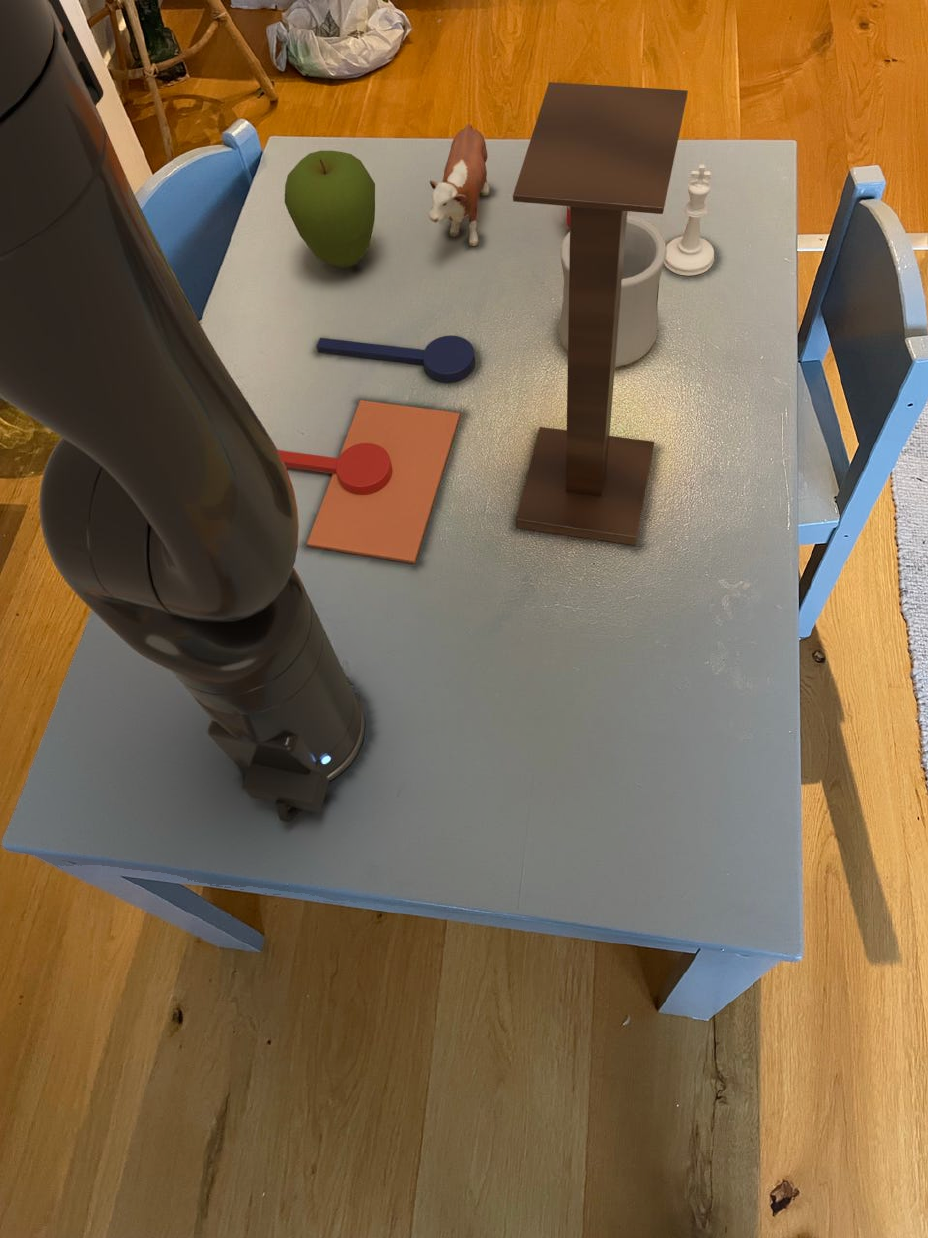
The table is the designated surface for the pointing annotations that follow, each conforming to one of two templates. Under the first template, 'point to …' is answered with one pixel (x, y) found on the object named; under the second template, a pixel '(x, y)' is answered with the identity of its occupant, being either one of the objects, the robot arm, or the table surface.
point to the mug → (629, 290)
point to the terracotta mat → (389, 484)
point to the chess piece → (692, 232)
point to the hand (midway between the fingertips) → (25, 173)
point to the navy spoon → (414, 355)
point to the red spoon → (349, 466)
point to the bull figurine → (462, 182)
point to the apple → (332, 206)
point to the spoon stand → (595, 293)
